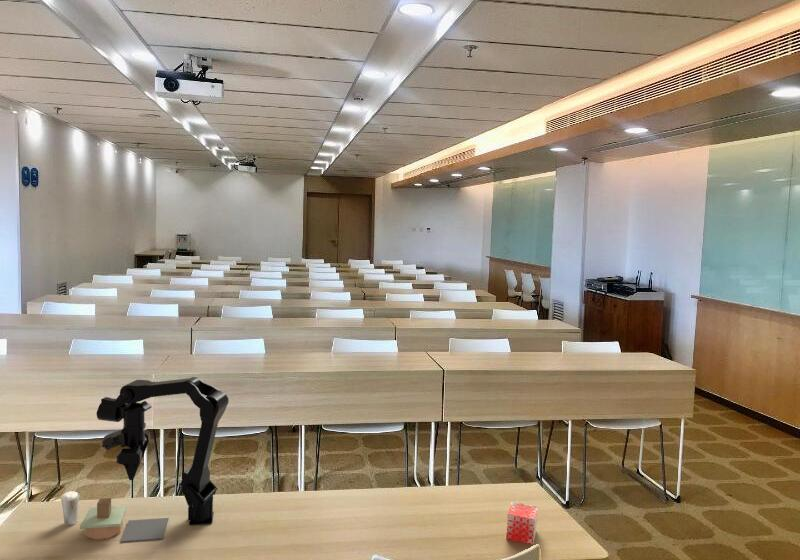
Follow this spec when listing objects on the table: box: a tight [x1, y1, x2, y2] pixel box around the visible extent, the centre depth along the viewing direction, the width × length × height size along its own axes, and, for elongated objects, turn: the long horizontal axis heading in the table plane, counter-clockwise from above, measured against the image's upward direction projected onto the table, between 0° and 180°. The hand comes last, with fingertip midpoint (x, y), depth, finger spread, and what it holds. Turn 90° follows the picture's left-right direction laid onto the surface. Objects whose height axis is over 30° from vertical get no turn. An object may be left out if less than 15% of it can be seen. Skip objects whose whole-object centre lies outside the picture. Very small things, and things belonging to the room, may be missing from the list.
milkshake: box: [60, 490, 81, 527], centre depth 175 cm, size 4×5×10 cm
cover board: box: [79, 497, 128, 530], centre depth 172 cm, size 10×10×5 cm
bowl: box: [85, 518, 124, 541], centre depth 172 cm, size 9×9×4 cm
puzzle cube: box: [505, 501, 539, 545], centre depth 181 cm, size 8×8×8 cm
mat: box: [120, 517, 169, 544], centre depth 174 cm, size 11×11×1 cm
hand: (134, 472), depth 183 cm, fingers open, 9 cm apart
